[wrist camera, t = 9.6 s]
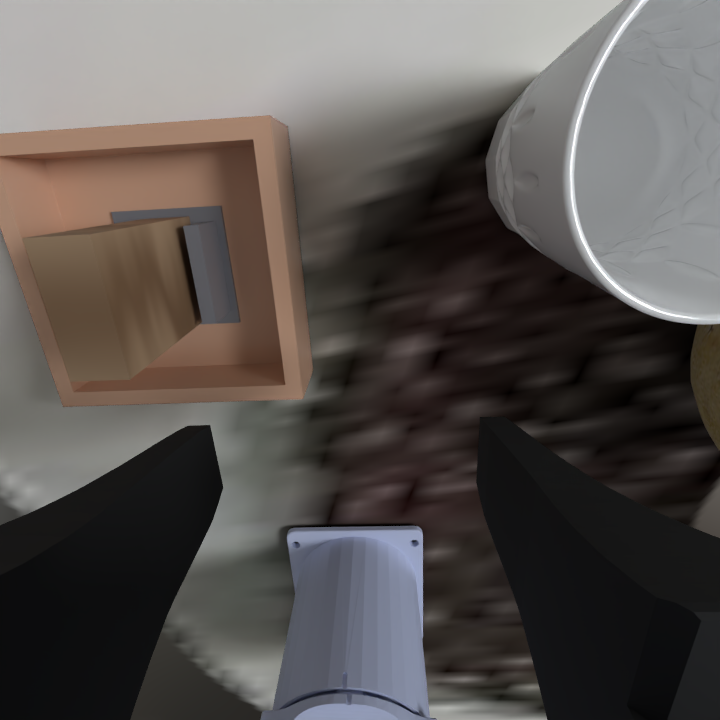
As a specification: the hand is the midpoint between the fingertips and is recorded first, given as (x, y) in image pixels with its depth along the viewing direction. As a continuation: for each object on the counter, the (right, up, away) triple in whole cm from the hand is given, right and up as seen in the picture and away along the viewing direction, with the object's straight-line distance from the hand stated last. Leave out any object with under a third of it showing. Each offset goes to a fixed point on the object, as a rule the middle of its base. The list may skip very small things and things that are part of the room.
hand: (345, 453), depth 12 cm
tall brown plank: (-8, +7, +8) cm, 13 cm away
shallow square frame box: (-8, +7, +9) cm, 14 cm away
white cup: (+9, +11, +7) cm, 16 cm away
